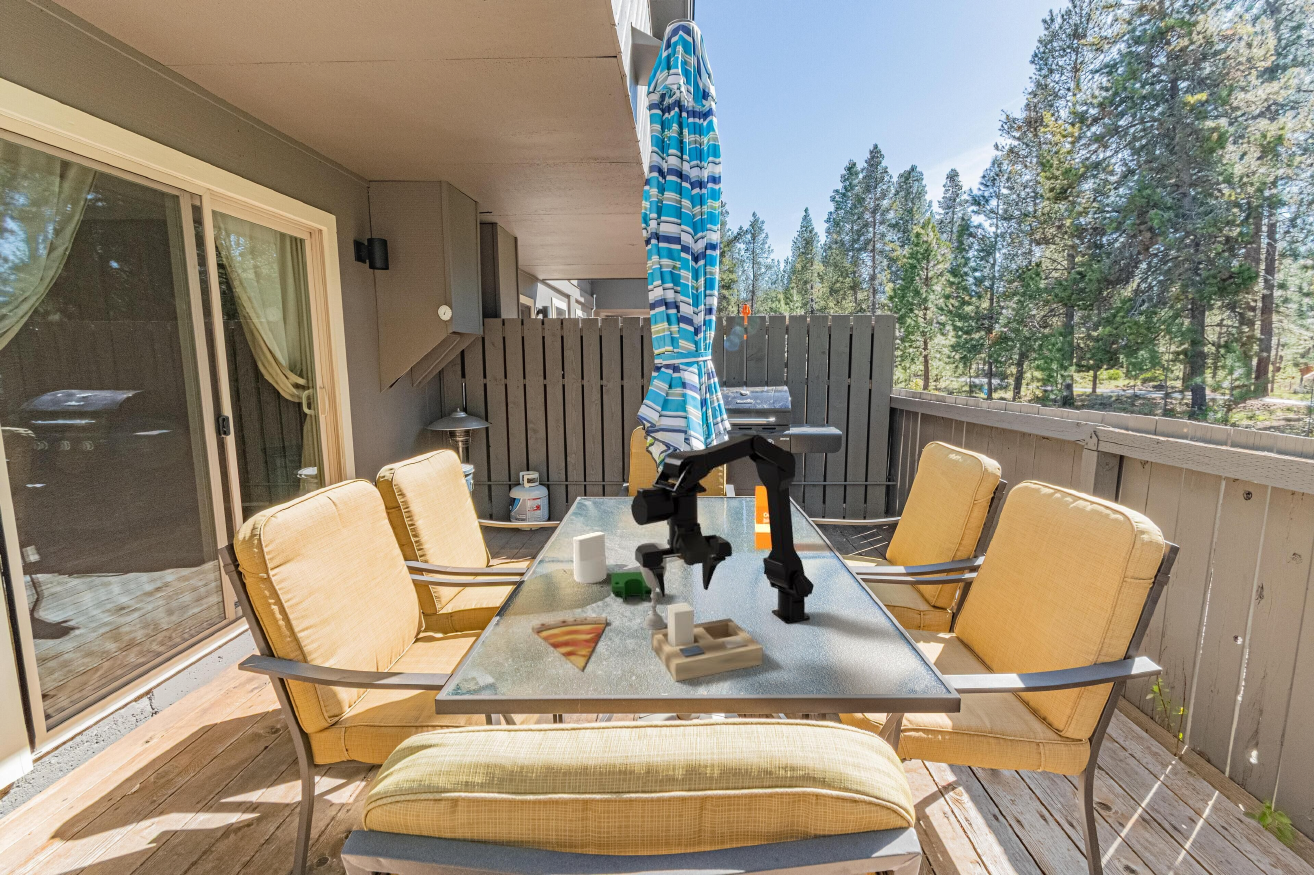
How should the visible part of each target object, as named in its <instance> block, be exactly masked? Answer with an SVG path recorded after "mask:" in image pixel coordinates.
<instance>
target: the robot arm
mask: <svg viewBox="0 0 1314 875" xmlns="http://www.w3.org/2000/svg"><path fill="white" fill-rule="evenodd" d="M746 457H747V459H749V460H750V461H751V462H753V463H754V464H755V467H756V472H757V476H758V478H759V480H760V481H761V483H762V486H765V488H766V491H767V502H768V513H769V524H770V535H771V546H772V550H771V551H769V554H768V556H767V557H763V559H762V562H763V568H764V569H763V575H765V576H766V579H767V580H768V581H769V584H770V587H771V588H774V589H776V590H777V609H772V610H771V613H772V614H773V615H775V616H776V617H777V618H778V619H780V620H781V621H782V622H784V623H785V624H789V623H796V622H802V621H806V620H811V616H810V615H808V614H806V607H805V606H806V602H805V598H809V596H810V595H811V594H813V589H814V587H815V585H814V583H813V582H812V581H811V580H810V579H809V578H808V577H807V576H806V575H805V574H806V573H805V569H804V565H803V562H802V559H801V557H800V556H799V554H798V552H797V551H796V549H795V546H794V543H795V542H794V532H793V520H792V519H793V518H792V508H791V498H790V497H791V495H790V494H791V493H790V487H791V485H792V483H793V481H794V479H795V478H796V457H795V454H793V453H792V452H791V451H789V450H786V449H783V448H782V447H780V446H779V445H776V444H775V443H773V442H771V441H769V440H768V439H766V437H764V436H762V435H761V434H759V433H751V432H744V433H742V434H740V436H739V435H738V436H735V437H734V438H731V439H727V440H725V441H722V442H720V443H717V444H714V445H711V446H708V447H705V448H702V449H698V450H697V449H696V450H682V451H673V452H670V453H669V454H666V456H665V459H664V461H663V465H662V466H661V469H660V470H659V472H658V473H657V475H656V477H655V478H654V481H653V482H652V484H651V486H652V487H645V488H644V487H639V488H637V489H636V495H635V496H634V497H633V499H632V503H631V505H630V508H631V509H630V511H631V516H632V517H633V520H634V521H635V523H636V524H637V525H638V526H646V525H650V524H655V523H660V522H666V525H667V526H668V539H666V540H667V544H666V545H667V546H668V548H664V549H659V548H658V547H657V546H656V545H655V544H651V545H643V546H639V545H638V546H637V547H636V548H635V551H634V559H635V561H636V562H637V563H638V564H639V566H640V565H641V566H642V567H643V568H647V569H648V570H649V571H651V572H652V574H653V576H654V579H655V581H656V584H657V586H658V588H657V589H658V590H659V593H660V596H661V597H662V598H664V597H665V596H666V589H665V588H666V587H665V576H663V572H664V568H665V567H664V566H663V565H661V564H662V563H663V559H664V558H666V559H670V558H671V559H672V558H679V557H681V558H682V560H683V562H684V564H685V565H688V566H695V565H699V564H701V567H702V568H701V570H702V585H703V586H702V587H703V589H704V590H705V591H708V589H709V586H710V584H711V581H712V578H713V575H714V573H715V570H716V569H717V566H719V564H720V563H721V562H724V561H726V560H727V558H728V557H732V556H733V546H732V543H731V542H729V541H728V540H727V539H725V538H724V537H722V536H720V535H717V534H710V535H703V533H702V527H701V523H700V522H699V521H698V520H699V519H698V518H699V516H698V515H699V514H698V511H699V510H698V505H699V504H698V494H701V493H706V492H707V491H708V490H707V488H706V487H705V486H704V485H703V484H701V483H700V482H701V481H702V480H703V479H705V478H706V477H708V476H709V474H710V472H711V471H713V470H715V469H717V468H719V467H723V466H725V465H727V464H730V463H733V462H735V461H738V460H740V459H743V458H746Z"/></svg>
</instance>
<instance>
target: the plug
mask: <svg viewBox="0 0 1314 875" xmlns="http://www.w3.org/2000/svg"><path fill="white" fill-rule="evenodd" d="M694 611H695V610H694V609H693V608H692V607H691V606H690V605H689V603H687V602H680V603H675V604H674V603H673V604H668V605H667V629H668V643H669V645H670V646H671V647H677V646H683V645H689V644H694V624H695V621H694V620H695V619H694V618H695V617H694V616H695V615H694V614H695V613H694Z"/></svg>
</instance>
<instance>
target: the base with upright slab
mask: <svg viewBox="0 0 1314 875" xmlns="http://www.w3.org/2000/svg"><path fill="white" fill-rule="evenodd" d="M605 536H606V534H605V532H602V531H595V532H591V533H586V534H583V535H578V536H575V537H573V540H572V543H573V544H572V545H573V558H572V559H573V578H574V579H575V580H576V581H575V580H574V579H573V580H574V581H575V582H576V583H577V582H578V583H581V584H595V583H596V582H597V583H600V582H603V581H604V580H603V579H605V578H607V556H606V555H607V554H606V542H605V541H606V538H605ZM602 580H603V581H602ZM605 580H606V579H605ZM599 581H600V582H599Z"/></svg>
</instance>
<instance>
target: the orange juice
mask: <svg viewBox="0 0 1314 875" xmlns="http://www.w3.org/2000/svg"><path fill="white" fill-rule="evenodd" d="M754 498H755V502H754V503H755V505H754V510H755V511H754V547H756V548H755V550H756V549H772V546H771V535H770V524H769V513H768V502H767V491H766V488H765V486H764V485H755V497H754Z"/></svg>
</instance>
